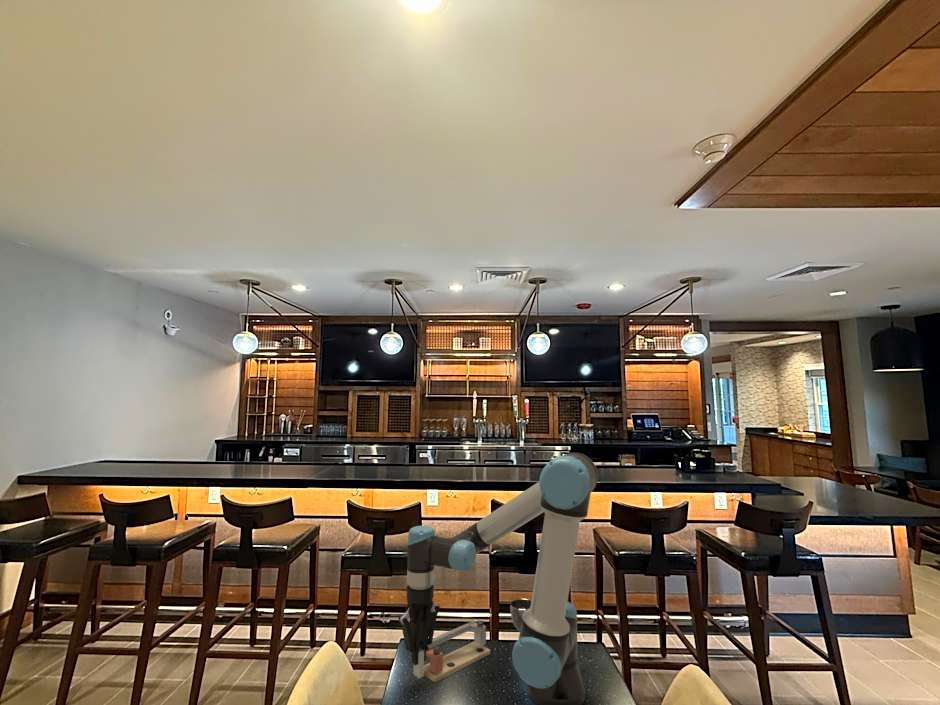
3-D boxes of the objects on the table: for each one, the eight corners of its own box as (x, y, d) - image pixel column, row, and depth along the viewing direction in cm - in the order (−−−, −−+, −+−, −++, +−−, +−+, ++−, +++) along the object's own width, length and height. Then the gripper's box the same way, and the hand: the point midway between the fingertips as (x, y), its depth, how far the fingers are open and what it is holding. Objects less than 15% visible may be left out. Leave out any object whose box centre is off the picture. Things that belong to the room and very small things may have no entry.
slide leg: (442, 671, 129) (443, 646, 129) (435, 674, 127) (436, 650, 128) (425, 659, 134) (426, 636, 135) (418, 662, 133) (419, 639, 133)
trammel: (485, 650, 141) (486, 622, 142) (435, 676, 127) (435, 644, 128) (472, 642, 145) (472, 615, 146) (421, 667, 131) (422, 636, 132)
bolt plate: (490, 653, 141) (490, 649, 141) (435, 682, 126) (435, 678, 126) (474, 645, 146) (474, 641, 146) (419, 671, 131) (419, 667, 131)
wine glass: (535, 649, 144) (535, 599, 145) (537, 663, 136) (536, 610, 138) (510, 647, 144) (510, 598, 146) (510, 661, 137) (510, 608, 138)
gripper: (430, 575, 135) (428, 660, 132) (393, 586, 126) (390, 678, 123) (446, 582, 129) (445, 671, 126) (409, 595, 120) (407, 691, 117)
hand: (418, 675), depth 125 cm, fingers closed
